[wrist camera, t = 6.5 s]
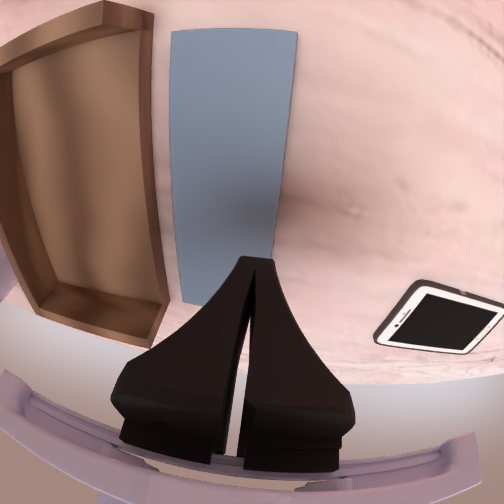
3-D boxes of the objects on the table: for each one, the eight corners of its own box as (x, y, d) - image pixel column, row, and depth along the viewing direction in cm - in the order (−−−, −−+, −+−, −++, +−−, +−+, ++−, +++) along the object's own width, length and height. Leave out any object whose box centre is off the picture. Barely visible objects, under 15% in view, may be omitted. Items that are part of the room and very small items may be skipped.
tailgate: (182, 302, 21) (261, 317, 20) (171, 31, 10) (296, 32, 10) (187, 291, 22) (264, 305, 21) (181, 33, 11) (297, 35, 11)
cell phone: (464, 349, 24) (467, 355, 24) (368, 335, 24) (370, 344, 23) (506, 303, 20) (510, 309, 19) (415, 273, 19) (419, 282, 18)
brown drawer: (62, 278, 23) (36, 314, 19) (17, 57, 11) (-33, 70, 7) (170, 300, 23) (150, 349, 19) (153, 13, 10) (104, -1, 6)
